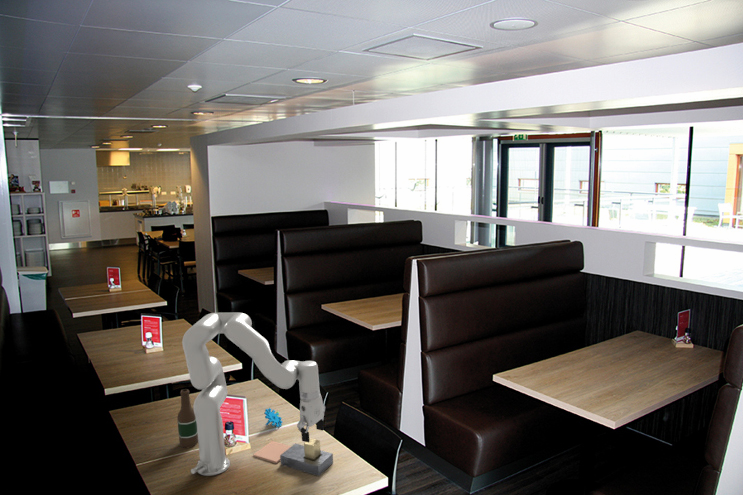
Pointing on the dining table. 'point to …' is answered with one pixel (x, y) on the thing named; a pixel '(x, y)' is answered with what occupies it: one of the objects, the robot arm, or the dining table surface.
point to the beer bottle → (187, 422)
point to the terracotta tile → (272, 451)
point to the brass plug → (312, 449)
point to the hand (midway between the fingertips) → (313, 435)
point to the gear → (273, 417)
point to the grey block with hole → (305, 460)
